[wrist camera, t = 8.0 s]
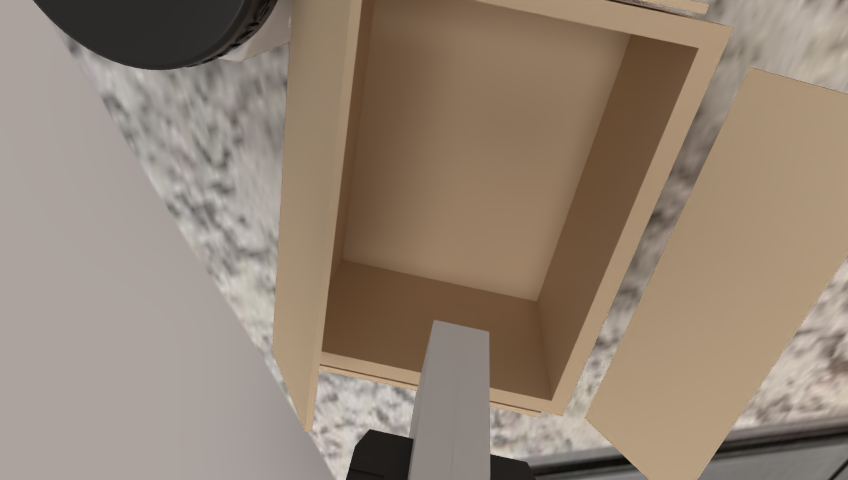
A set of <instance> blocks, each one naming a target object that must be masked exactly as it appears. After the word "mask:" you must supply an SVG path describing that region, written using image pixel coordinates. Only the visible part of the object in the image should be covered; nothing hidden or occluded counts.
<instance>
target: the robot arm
mask: <svg viewBox="0 0 848 480" xmlns="http://www.w3.org/2000/svg"><path fill="white" fill-rule="evenodd" d="M346 480H536V479H535V477H534V475H533V473H532V471H531V469H530V467H529V465H528V463H527V462H523V461H519V460H514V459H510V458H505V457H500V456H496V455H491V454H490V380H489V332H488V331H483V330H479V329H474V328H470V327H465V326H460V325H456V324H451V323H447V322H442V321H437V320H434V322H433V326H432V330H431V334H430V338H429V342H428V346H427V351H426V355H425V359H424V363H423V367H422V371H421V375H420V380H419V384H418V388H417V392H416V397H415V403H414V409H413V415H412V421H411V427H410V433H409V438H407V437H403V436H398V435H394V434H389V433H384V432H380V431H375V430H371V429H369V431H368V432H367V433H366V434H365V435H364V436H363V438H362V439H361V440H360V441H359V442H358V443H357V445H356V446H355V449H354V452H353V456H352V460H351V463H350V467H349V471H348V474H347V478H346Z"/></svg>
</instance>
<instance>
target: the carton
mask: <svg viewBox="0 0 848 480" xmlns="http://www.w3.org/2000/svg"><path fill="white" fill-rule="evenodd" d="M639 1H644V2H649V3H654V4H658V5H663V6H668V7H673V8H677V9H682V10H687V11H692V12H696V13H701V14H706V11H707V9H708V7H709V4H705V3H700V2H695V1H691V0H639ZM733 29H734V28H733V27H730V26H726V25H722V24H718V23H714V22H711V21H707V20H703V19H699V18H696V17H692V16H688V15H684V14H681V13H677V12H673V11H669V10H665V9H662V8H658V7H654V6H649V5H644V4H640V3H635V2H630V1H625V0H362V5H361V14H360V22H359V31H358V39H357V48H356V57H355V65H354V74H353V83H352V91H351V100H350V108H349V117H348V126H347V134H346V143H345V152H344V160H343V169H342V177H341V186H340V195H339V203H338V212H337V220H336V229H335V238H334V246H333V255H332V264H331V272H330V281H329V289H328V298H327V307H326V315H325V324H324V332H323V341H322V350H321V358H320V367H319V370H322V371H327V372H331V373H336V374H341V375H345V376H350V377H355V378H359V379H364V380H369V381H373V382H378V383H382V384H387V385H392V386H396V387H401V388H406V389H410V390H415V391H417V388H418V384H419V380H420V375H421V371H422V367H423V363H424V359H425V355H426V351H427V346H428V342H429V338H430V334H431V330H432V326H433V322H434V320H437V321H442V322H447V323H451V324H456V325H460V326H465V327H470V328H474V329H479V330H483V331H488V332H489V380H490V407H494V408H498V409H503V410H507V411H512V412H517V413H521V414H526V415H531V416H535V417H540V415H541V412H546V413H550V414H555V415H560V416H563V414H564V412H565V410H566V408H567V405H568V403H569V401H570V399H571V396H572V394H573V392H574V389H575V387H576V385H577V383H578V380H579V378H580V376H581V374H582V371H583V369H584V367H585V364H586V362H587V360H588V358H589V355H590V353H591V351H592V349H593V346H594V344H595V342H596V340H597V337H598V335H599V333H600V330H601V328H602V326H603V324H604V321H605V319H606V317H607V315H608V312H609V310H610V308H611V306H612V303H613V301H614V299H615V296H616V294H617V292H618V290H619V287H620V285H621V283H622V281H623V278H624V276H625V274H626V271H627V269H628V267H629V265H630V262H631V260H632V258H633V256H634V253H635V251H636V249H637V247H638V244H639V242H640V240H641V237H642V235H643V233H644V231H645V228H646V226H647V224H648V222H649V219H650V217H651V215H652V213H653V210H654V208H655V206H656V203H657V201H658V199H659V197H660V194H661V192H662V190H663V188H664V185H665V183H666V181H667V178H668V176H669V174H670V172H671V169H672V167H673V165H674V163H675V160H676V158H677V156H678V154H679V151H680V149H681V147H682V144H683V142H684V140H685V138H686V135H687V133H688V131H689V129H690V126H691V124H692V122H693V120H694V117H695V115H696V113H697V110H698V108H699V106H700V104H701V101H702V99H703V97H704V95H705V92H706V90H707V88H708V85H709V83H710V81H711V79H712V76H713V74H714V72H715V70H716V67H717V65H718V63H719V61H720V58H721V56H722V54H723V51H724V49H725V47H726V45H727V42H728V40H729V38H730V36H731V33H732V31H733Z"/></svg>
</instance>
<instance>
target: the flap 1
mask: <svg viewBox="0 0 848 480" xmlns="http://www.w3.org/2000/svg"><path fill="white" fill-rule="evenodd" d="M361 5H362V0H292V12H291V30H290V47H289V65H288V82H287V100H286V117H285V135H284V152H283V170H282V188H281V205H280V223H279V240H278V258H277V275H276V293H275V311H274V328H273V346H272V352H273V354H274V357H275V359H276V362H277V364H278V367H279V369H280V372H281V374H282V377H283V379H284V382H285V384H286V386H287V389H288V391H289V394H290V396H291V399H292V401H293V404H294V406H295V409H296V411H297V414H298V416H299V419H300V421H301V423H302V426H303V428H304V431H305V432H306V431H310V430H312V427H313V419H314V410H315V401H316V393H317V384H318V376H319V367H320V358H321V350H322V341H323V332H324V324H325V315H326V307H327V298H328V289H329V281H330V272H331V264H332V255H333V246H334V238H335V229H336V220H337V212H338V203H339V195H340V186H341V177H342V169H343V160H344V152H345V143H346V134H347V126H348V117H349V108H350V100H351V91H352V83H353V74H354V65H355V57H356V48H357V39H358V31H359V22H360V14H361Z"/></svg>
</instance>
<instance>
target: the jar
mask: <svg viewBox="0 0 848 480" xmlns="http://www.w3.org/2000/svg"><path fill="white" fill-rule="evenodd" d="M34 2H35V3H36V4H37V5H38V7H39V8H40V9H41V10H42V11H43V12H44V13H45V14H46V15H47V16H48V17H49V18H50V19H51V20H52V21H53V22H54V23H55V24H56V25H57V26H58V27H59V28H60V29H62V30H63V31H64V32H65V33H66V34H68V35H69V36H70V37H71V38H73V39H74V40H75V41H77V42H78V43H80V44H81V45H83V46H84V47H86V48H87V49H89V50H91V51H93V52H95V53H96V54H98V55H100V56H102V57H105V58H107V59H109V60H111V61H114V62H117V63H120V64H123V65H127V66H131V67H135V68H141V69H147V70H171V69H178V68H182V67H193V66H197V65H201V64H204V63H207V62H209V61H212V60H215V59H217V58H218V59H224V60H230V61H236V62H241V61H244V60H246V59H249V58H251V57H253V56H256V55H258V54H261V53H263V52H266V51H268V50H271V49H273V48H276V47H278V46H281V45H283V44H286V43H288V42H290V30H291V12H292V0H34Z"/></svg>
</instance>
